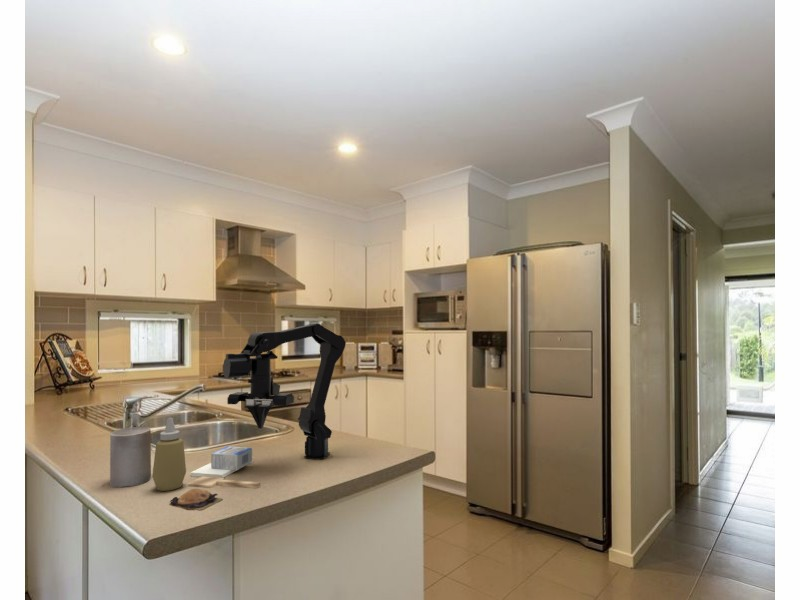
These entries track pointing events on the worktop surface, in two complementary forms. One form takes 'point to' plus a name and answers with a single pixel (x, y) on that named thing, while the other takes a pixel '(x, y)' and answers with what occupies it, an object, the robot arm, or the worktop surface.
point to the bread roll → (195, 500)
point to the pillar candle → (130, 456)
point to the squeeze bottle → (169, 459)
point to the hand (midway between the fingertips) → (260, 428)
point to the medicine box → (231, 458)
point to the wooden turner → (221, 483)
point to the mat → (211, 472)
